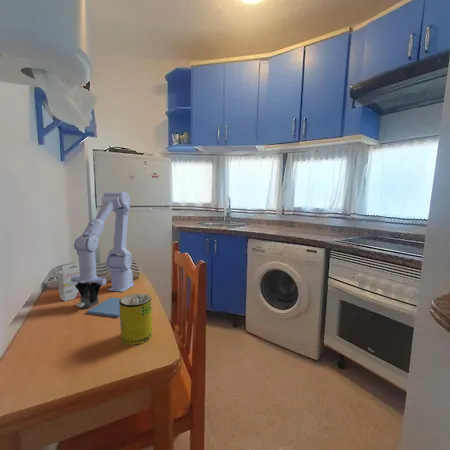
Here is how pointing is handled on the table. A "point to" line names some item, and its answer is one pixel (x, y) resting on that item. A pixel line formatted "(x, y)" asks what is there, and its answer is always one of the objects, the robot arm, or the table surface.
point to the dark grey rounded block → (86, 302)
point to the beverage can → (135, 319)
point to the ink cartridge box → (68, 282)
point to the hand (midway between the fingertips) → (89, 300)
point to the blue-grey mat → (107, 308)
